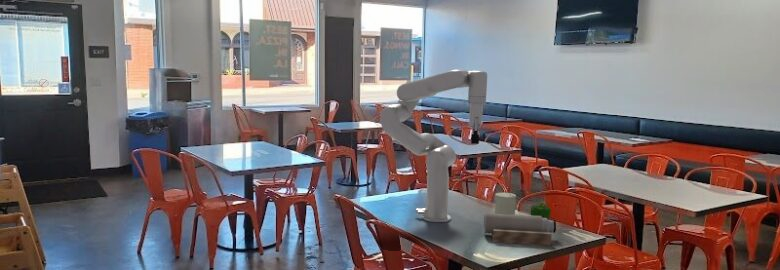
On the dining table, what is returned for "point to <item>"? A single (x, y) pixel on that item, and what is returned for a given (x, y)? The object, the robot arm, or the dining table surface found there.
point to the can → (505, 203)
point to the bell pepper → (540, 210)
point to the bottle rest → (521, 237)
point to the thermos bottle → (518, 223)
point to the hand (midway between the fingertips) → (474, 143)
